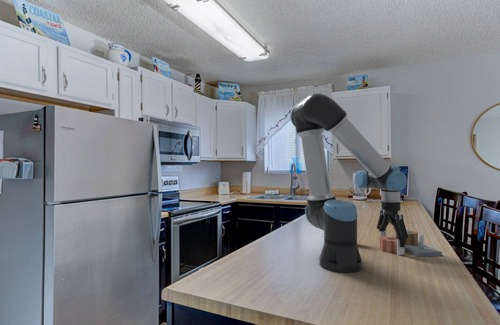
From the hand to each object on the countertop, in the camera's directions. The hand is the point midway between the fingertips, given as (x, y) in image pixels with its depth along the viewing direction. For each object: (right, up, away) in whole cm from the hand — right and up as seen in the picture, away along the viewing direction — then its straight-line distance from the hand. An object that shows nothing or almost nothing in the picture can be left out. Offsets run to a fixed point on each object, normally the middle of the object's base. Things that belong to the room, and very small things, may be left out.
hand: (391, 250), depth 129 cm
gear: (0, 0, 0) cm, 0 cm away
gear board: (+11, 0, +2) cm, 11 cm away
